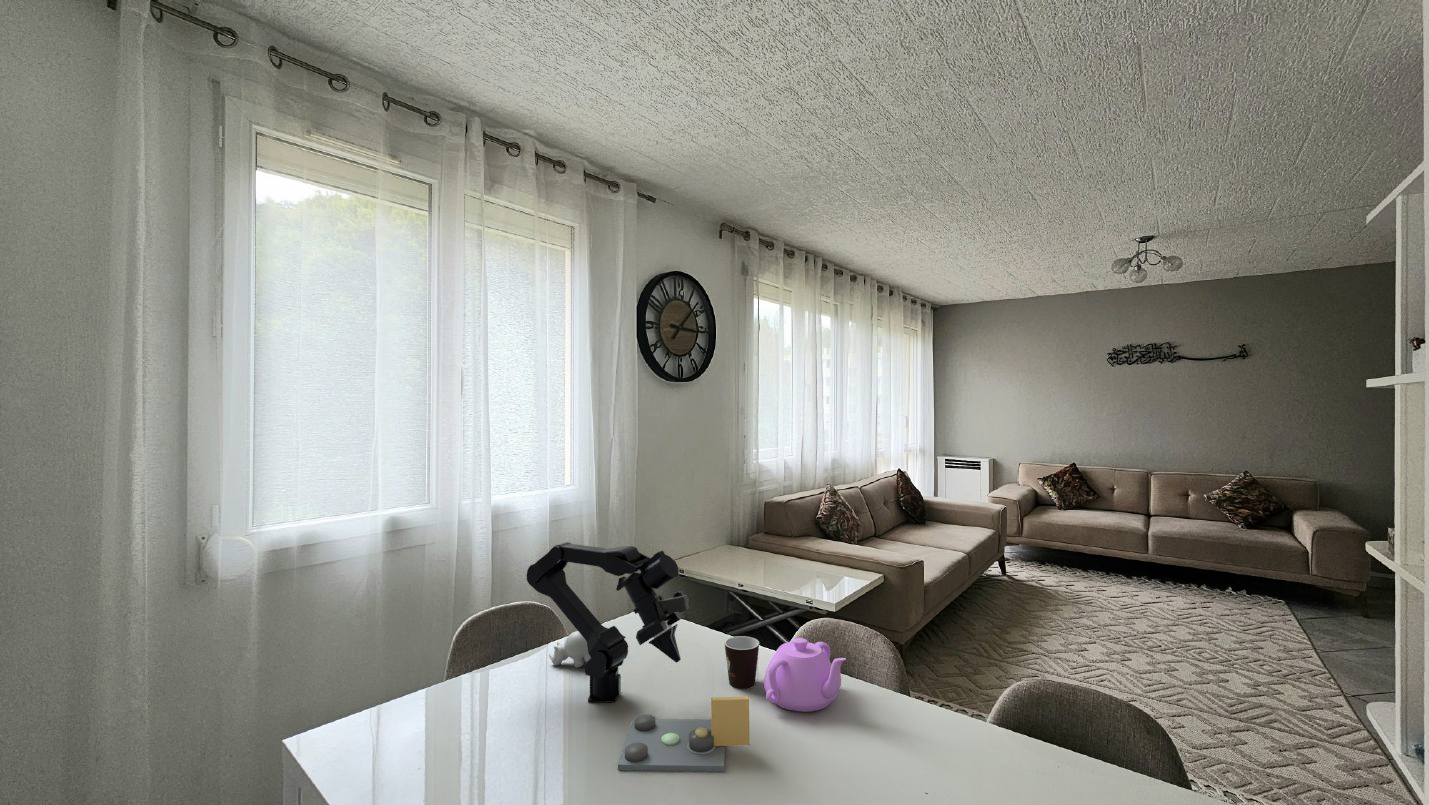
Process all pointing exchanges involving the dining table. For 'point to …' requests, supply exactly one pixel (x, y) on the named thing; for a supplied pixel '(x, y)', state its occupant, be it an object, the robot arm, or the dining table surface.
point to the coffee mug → (742, 661)
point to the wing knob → (723, 725)
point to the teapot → (802, 676)
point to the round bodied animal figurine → (572, 650)
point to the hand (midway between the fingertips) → (678, 661)
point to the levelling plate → (667, 746)
